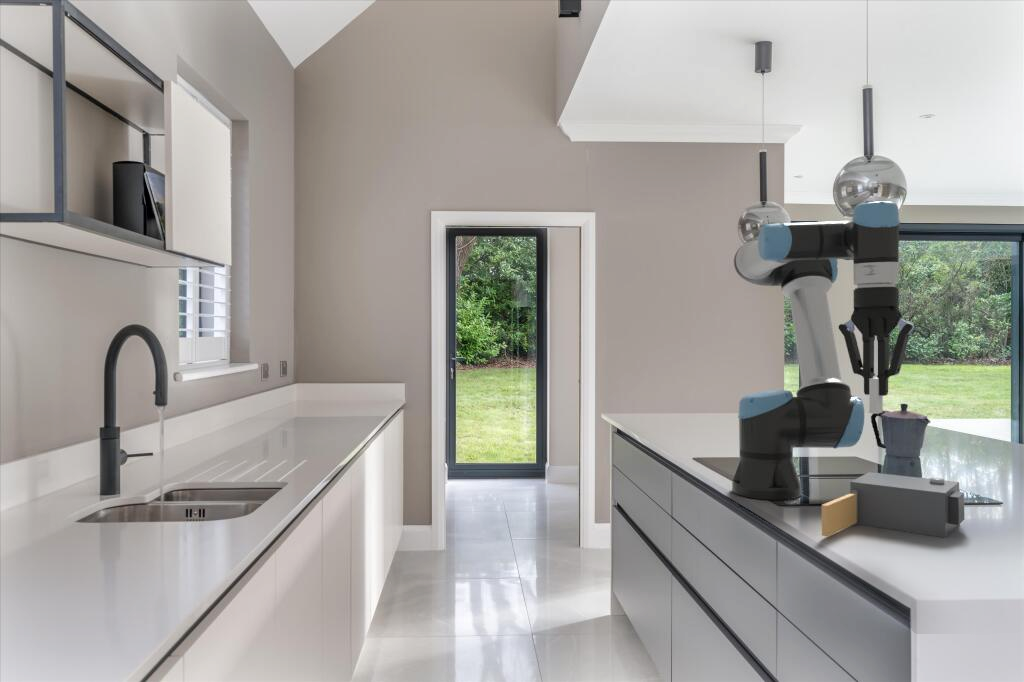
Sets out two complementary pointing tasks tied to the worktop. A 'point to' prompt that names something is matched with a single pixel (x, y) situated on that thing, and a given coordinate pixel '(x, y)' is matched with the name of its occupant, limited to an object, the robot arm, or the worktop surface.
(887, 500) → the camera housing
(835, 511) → the side door
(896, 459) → the moka pot
